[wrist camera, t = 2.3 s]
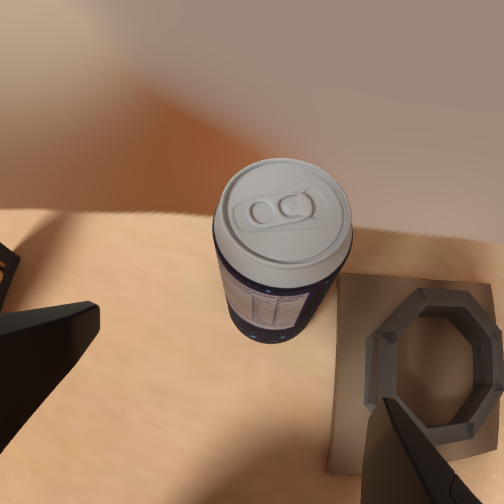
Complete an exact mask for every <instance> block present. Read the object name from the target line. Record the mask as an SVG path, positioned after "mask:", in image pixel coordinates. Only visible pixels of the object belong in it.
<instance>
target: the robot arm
mask: <svg viewBox="0 0 504 504" xmlns="http://www.w3.org/2000/svg"><path fill="white" fill-rule="evenodd" d="M99 330H100V308H99V306H98V305H97V304H95V303H93V302H90V301H84V302H78V303H71V304H65V305H59V306H52V307H46V308H39V309H32V310H26V311H19V312H12V313H5V314H0V454H1V453H2V452H3V450H4V449H5V448H6V446H7V445H8V444H9V443H10V441H11V440H12V439H13V438H14V436H15V435H16V434H17V433H18V431H19V430H20V429H21V428H22V427H23V425H24V424H25V423H26V422H27V421H28V419H29V418H30V417H31V416H32V415H33V413H34V412H35V411H36V410H37V409H38V407H39V406H40V405H41V404H42V403H43V402H44V400H45V399H46V398H47V397H48V396H49V395H50V393H51V392H52V391H53V390H54V389H55V388H56V386H57V385H58V384H59V383H60V382H61V381H62V380H63V379H64V377H65V376H66V375H67V374H68V373H69V372H70V371H71V369H72V368H73V367H74V366H75V365H76V363H77V362H78V361H79V359H80V358H81V356H82V355H83V354H84V352H85V351H86V349H87V348H88V347H89V345H90V344H91V342H92V341H93V340H94V338H95V337H96V336H97V334H98V332H99ZM454 473H455V472H454V470H453V469H452V468H451V467H450V465H449V464H448V463H447V462H446V460H445V459H444V458H443V457H442V455H441V454H440V453H439V452H438V451H437V449H436V448H435V447H434V446H433V444H432V443H431V442H430V441H429V440H428V438H427V437H426V436H425V435H424V433H423V432H422V431H421V430H420V429H419V427H418V426H417V425H416V424H415V423H414V421H413V420H412V419H411V418H410V416H409V415H408V414H407V413H406V412H405V410H404V409H403V408H402V407H401V406H400V404H399V403H398V402H397V401H396V400H395V399H393V398H388V397H382V398H381V399H380V400H379V402H378V403H377V405H376V407H375V408H374V410H373V411H372V413H371V415H370V417H369V419H368V424H367V433H366V441H365V448H364V455H363V463H362V485H361V504H482V503H481V502H480V500H479V499H478V498H477V497H476V496H475V495H474V494H473V493H472V492H471V491H470V490H469V488H468V487H467V486H466V485H465V484H464V483H463V481H462V480H461V479H460V478H459V476H458V475H457V474H454Z"/></svg>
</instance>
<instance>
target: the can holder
mask: <svg viewBox="0 0 504 504" xmlns="http://www.w3.org/2000/svg"><path fill="white" fill-rule="evenodd" d="M503 391H504V357H503V342H502V331H501V330H500V329H499V328H498V326H497V325H496V319H495V311H494V304H493V297H492V290H491V284H482V283H468V282H454V281H441V280H427V279H415V278H402V277H389V276H377V275H365V274H353V273H340V275H339V276H338V278H337V343H336V367H335V385H334V400H333V413H332V425H331V436H330V446H329V456H328V464H327V473H328V474H329V475H349V474H362V463H363V455H364V448H365V441H366V433H367V424H368V419H369V417H370V415H371V413H372V411H373V410H374V408H375V407H376V405H377V403H378V402H379V400H380V399H381V398H382V397H388V398H393V399H395V400H396V401H397V402H398V403H399V404H400V406H401V407H402V408H403V409H404V410H405V412H406V413H407V414H408V415H409V416H410V418H411V419H412V420H413V421H414V423H415V424H416V425H417V426H418V427H419V429H420V430H421V431H422V432H423V433H424V435H425V436H426V437H427V438H428V440H429V441H430V442H431V443H432V444H433V446H434V447H435V448H436V449H437V451H438V452H439V453H440V454H441V455H442V457H443V458H444V459H445V460H446V462H449V461H454V460H458V459H463V458H467V457H471V456H475V455H479V454H482V453H486V452H489V451H493V450H496V449H497V442H498V429H499V406H500V397H501V395H502V393H503Z"/></svg>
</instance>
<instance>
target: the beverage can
mask: <svg viewBox="0 0 504 504" xmlns="http://www.w3.org/2000/svg"><path fill="white" fill-rule="evenodd" d="M212 232H213V239H214V244H215V249H216V254H217V258H218V263H219V268H220V272H221V277H222V282H223V286H224V291H225V295H226V300H227V304H228V309H229V313H230V316H231V319H232V321H233V323H234V324H235V326H236V327H237V328H238V329H239V330H240V332H242V333H243V334H244V335H245V336H247V337H248V338H250V339H252V340H254V341H257V342H261V343H266V344H276V343H282V342H285V341H288V340H290V339H292V338H294V337H295V336H297V335H298V334H299V333H300V332H301V331H302V330H303V329H304V328H305V327H306V325H307V324H308V322H309V321H310V319H311V317H312V316H313V314H314V313H315V311H316V309H317V308H318V306H319V305H320V303H321V301H322V300H323V298H324V296H325V295H326V293H327V292H328V290H329V288H330V287H331V285H332V283H333V282H334V280H335V278H336V277H337V275H338V273H339V272H340V270H341V268H342V266H343V265H344V263H345V261H346V259H347V258H348V255H349V253H350V250H351V246H352V240H353V230H352V223H351V208H350V204H349V201H348V198H347V196H346V194H345V192H344V190H343V189H342V187H341V186H340V185H339V183H338V182H337V181H336V180H335V179H334V178H333V177H332V176H331V175H329V174H328V173H327V172H326V171H324V170H323V169H321V168H319V167H317V166H315V165H313V164H310V163H308V162H305V161H301V160H297V159H291V158H272V159H266V160H262V161H259V162H255V163H253V164H251V165H249V166H247V167H245V168H244V169H242V170H241V171H239V172H238V173H237V174H236V175H235V176H234V177H233V178H232V179H231V180H230V181H229V183H228V184H227V186H226V188H225V189H224V191H223V194H222V197H221V201H220V202H219V204H218V206H217V208H216V211H215V214H214V218H213V224H212Z"/></svg>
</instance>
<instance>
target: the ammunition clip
mask: <svg viewBox="0 0 504 504" xmlns="http://www.w3.org/2000/svg"><path fill="white" fill-rule="evenodd" d="M19 261H20V257H19V256H18V255H16V254H15V253H14V252H12V251H11V250H10V249H8V248H7V247H6V246H4V245H3V244H2V243H1V242H0V311H1V308H2V305H3V302H4V300H5V297H6V294H7V291H8V289H9V286H10V283H11V281H12V278H13V276H14V273H15V271H16V268H17V266H18V263H19Z"/></svg>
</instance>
